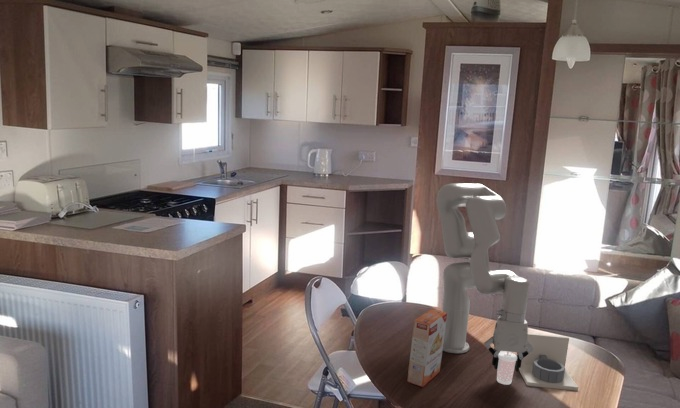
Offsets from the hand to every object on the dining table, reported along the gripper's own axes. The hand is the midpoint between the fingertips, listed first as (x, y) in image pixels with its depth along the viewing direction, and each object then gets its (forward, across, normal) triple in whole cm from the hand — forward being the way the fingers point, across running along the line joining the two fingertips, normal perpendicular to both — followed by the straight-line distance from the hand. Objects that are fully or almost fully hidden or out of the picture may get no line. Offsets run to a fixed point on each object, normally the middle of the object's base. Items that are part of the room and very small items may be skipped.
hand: (505, 367), depth 187 cm
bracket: (+5, +15, +6) cm, 17 cm away
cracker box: (+5, -26, -3) cm, 27 cm away
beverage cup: (+5, 0, 0) cm, 5 cm away
